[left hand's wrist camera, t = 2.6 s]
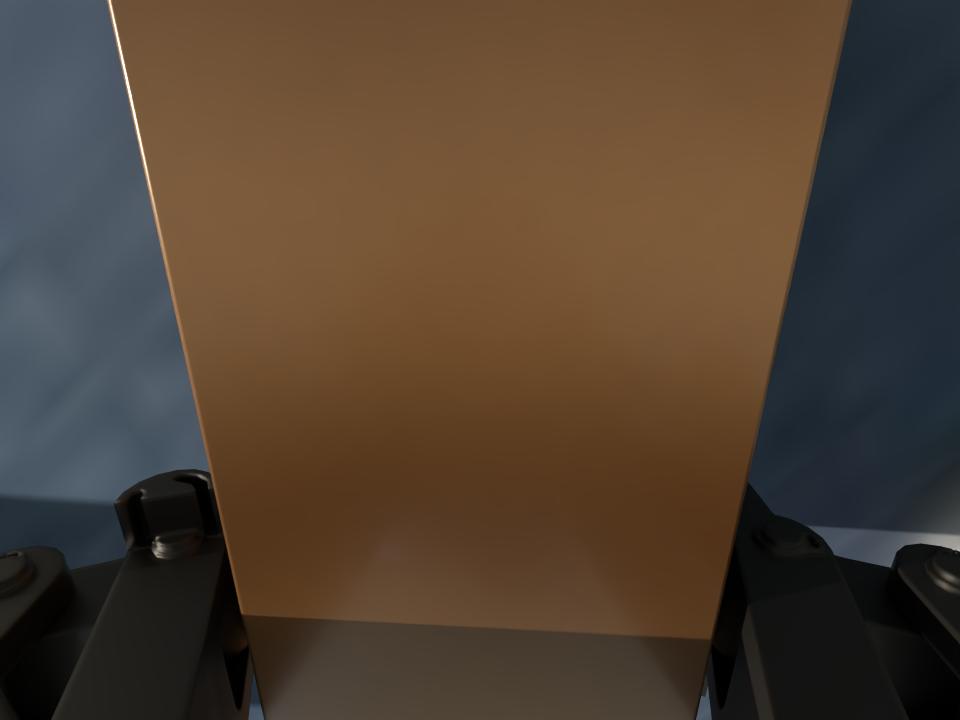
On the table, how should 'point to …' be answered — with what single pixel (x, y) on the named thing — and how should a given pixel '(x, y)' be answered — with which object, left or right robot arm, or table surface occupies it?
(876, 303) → the table surface
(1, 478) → the table surface
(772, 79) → the bar
